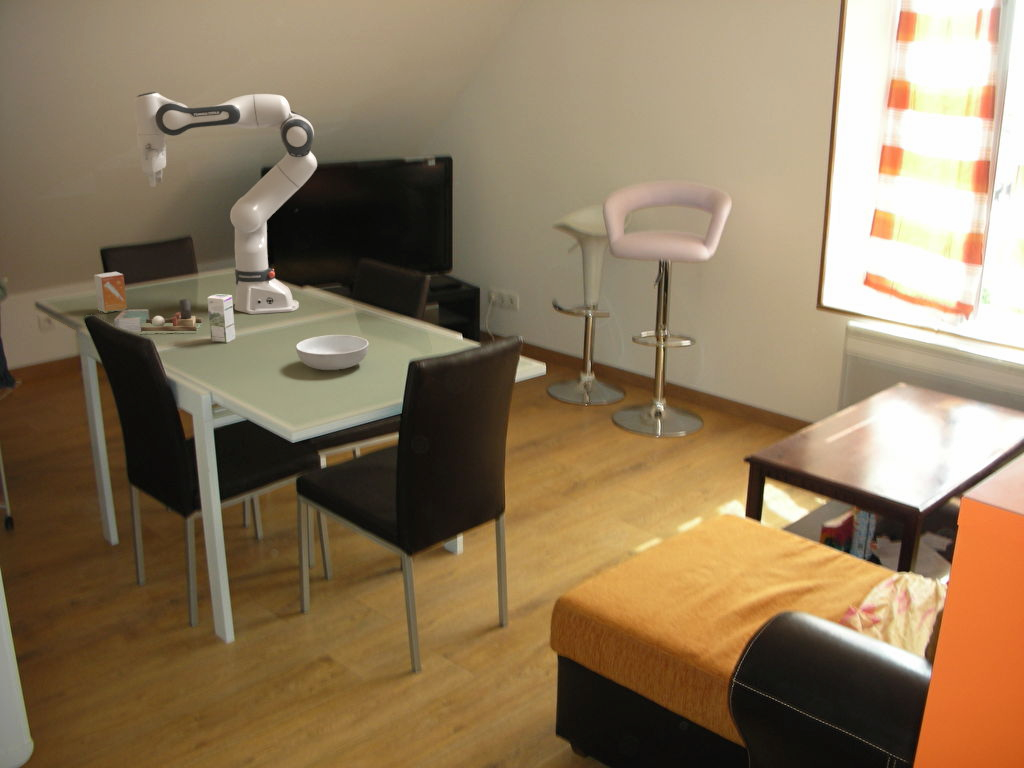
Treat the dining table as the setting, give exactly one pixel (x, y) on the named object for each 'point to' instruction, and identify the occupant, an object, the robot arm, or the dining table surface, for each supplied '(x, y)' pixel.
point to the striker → (184, 315)
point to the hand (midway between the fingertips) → (156, 184)
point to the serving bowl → (332, 351)
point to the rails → (171, 328)
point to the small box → (110, 291)
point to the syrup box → (221, 318)
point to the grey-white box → (132, 319)
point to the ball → (158, 321)
